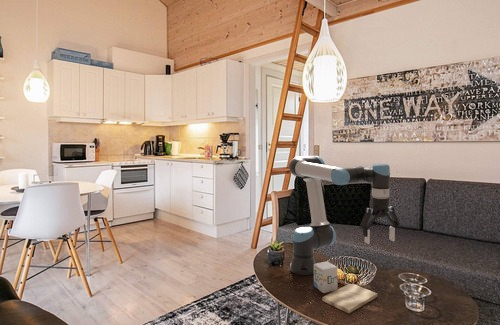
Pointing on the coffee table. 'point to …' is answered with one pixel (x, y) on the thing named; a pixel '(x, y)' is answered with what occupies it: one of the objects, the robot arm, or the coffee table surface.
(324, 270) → the ink box
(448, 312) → the coffee table surface
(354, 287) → the board
